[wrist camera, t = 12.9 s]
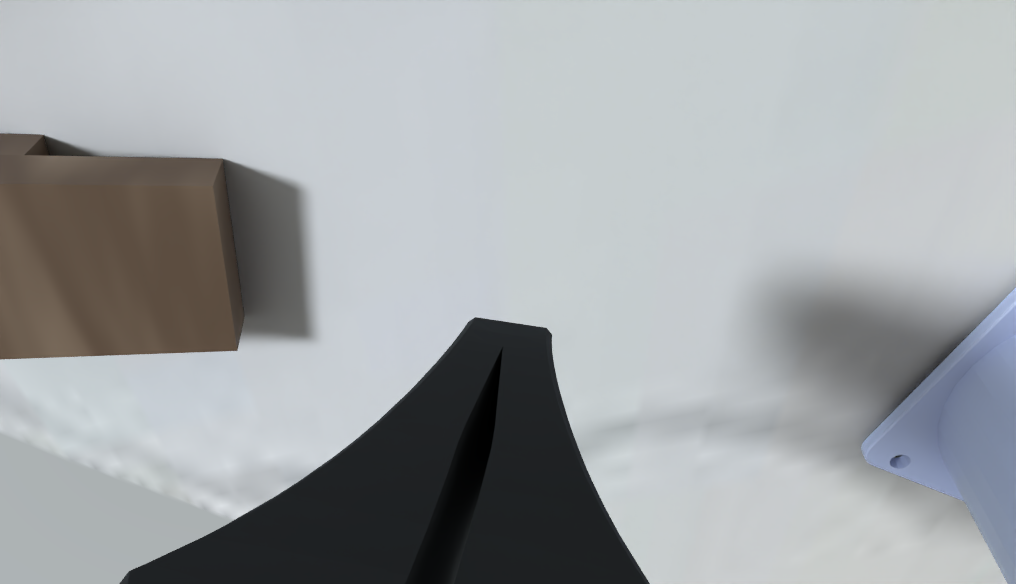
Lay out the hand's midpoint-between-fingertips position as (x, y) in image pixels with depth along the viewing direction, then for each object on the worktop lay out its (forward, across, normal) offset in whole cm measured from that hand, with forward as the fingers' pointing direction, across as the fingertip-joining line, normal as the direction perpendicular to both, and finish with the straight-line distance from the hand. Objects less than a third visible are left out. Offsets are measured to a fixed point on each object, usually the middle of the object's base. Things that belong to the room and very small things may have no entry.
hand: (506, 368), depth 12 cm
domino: (+6, +8, +2) cm, 10 cm away
